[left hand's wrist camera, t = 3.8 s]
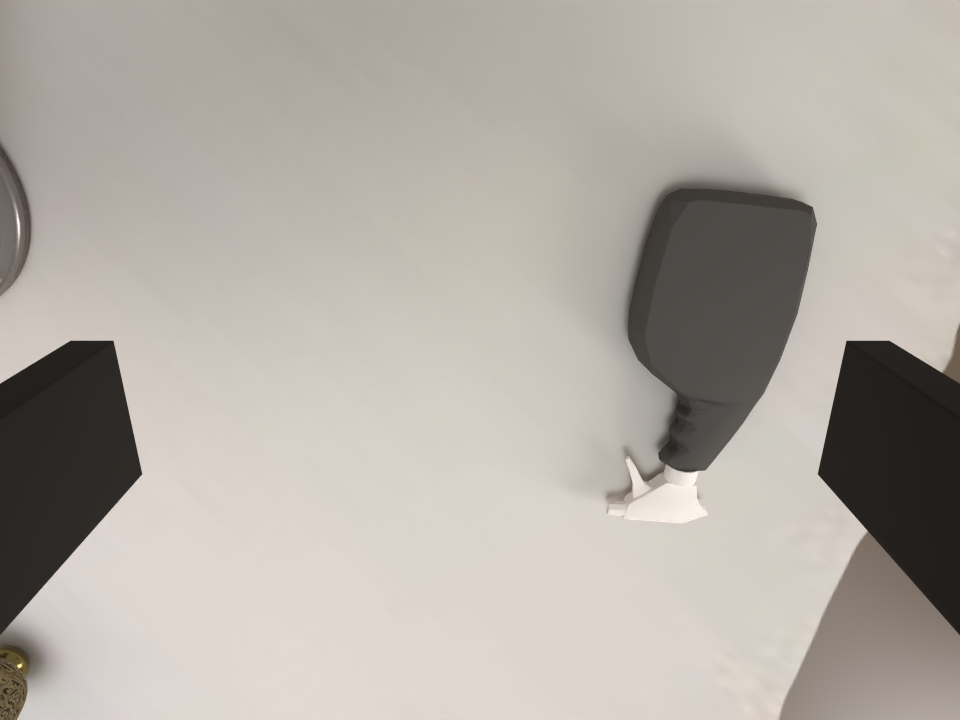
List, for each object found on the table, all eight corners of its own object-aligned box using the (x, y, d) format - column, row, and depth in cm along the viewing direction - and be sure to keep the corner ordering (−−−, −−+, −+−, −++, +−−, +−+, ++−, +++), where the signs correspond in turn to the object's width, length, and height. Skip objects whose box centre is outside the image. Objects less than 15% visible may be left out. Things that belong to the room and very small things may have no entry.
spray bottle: (817, 200, 43) (721, 514, 53) (651, 180, 43) (584, 501, 52) (839, 208, 41) (734, 538, 50) (663, 187, 40) (590, 524, 50)
